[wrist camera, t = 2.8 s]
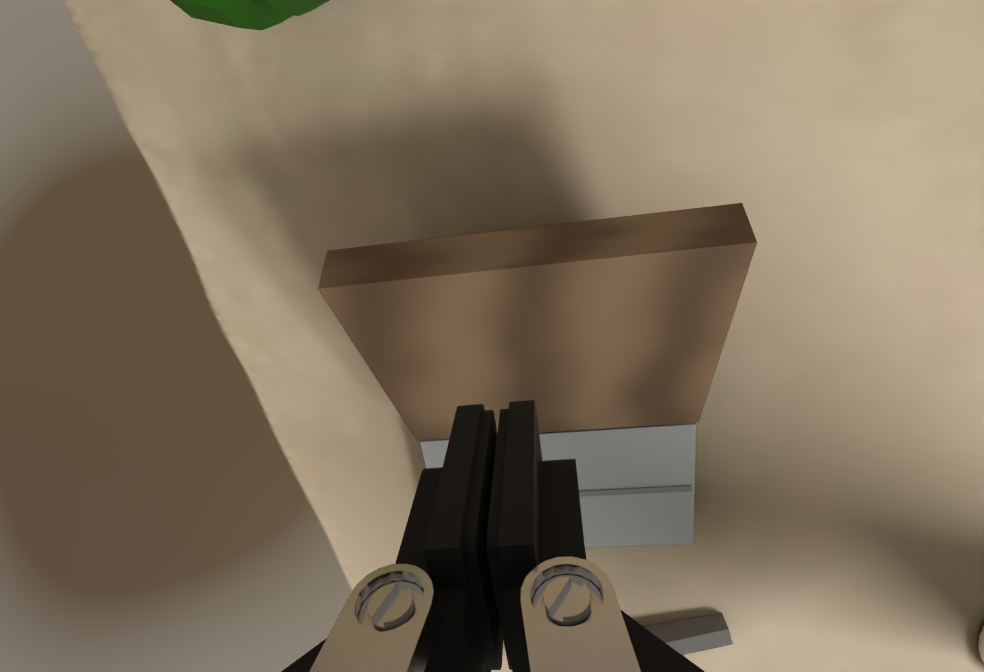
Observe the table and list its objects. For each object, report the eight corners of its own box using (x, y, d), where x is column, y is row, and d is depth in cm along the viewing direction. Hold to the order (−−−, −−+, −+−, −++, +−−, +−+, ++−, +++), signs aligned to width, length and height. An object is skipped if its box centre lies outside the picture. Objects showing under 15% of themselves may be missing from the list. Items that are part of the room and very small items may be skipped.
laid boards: (687, 405, 32) (696, 425, 31) (686, 520, 36) (694, 545, 34) (426, 423, 35) (419, 442, 33) (450, 530, 38) (445, 553, 36)
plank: (741, 203, 20) (756, 242, 19) (690, 390, 31) (698, 422, 30) (327, 251, 22) (318, 288, 21) (419, 410, 33) (416, 440, 32)
